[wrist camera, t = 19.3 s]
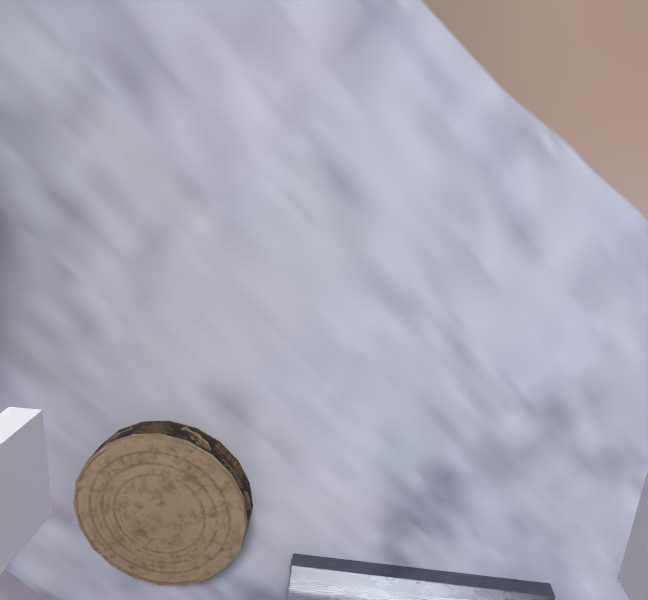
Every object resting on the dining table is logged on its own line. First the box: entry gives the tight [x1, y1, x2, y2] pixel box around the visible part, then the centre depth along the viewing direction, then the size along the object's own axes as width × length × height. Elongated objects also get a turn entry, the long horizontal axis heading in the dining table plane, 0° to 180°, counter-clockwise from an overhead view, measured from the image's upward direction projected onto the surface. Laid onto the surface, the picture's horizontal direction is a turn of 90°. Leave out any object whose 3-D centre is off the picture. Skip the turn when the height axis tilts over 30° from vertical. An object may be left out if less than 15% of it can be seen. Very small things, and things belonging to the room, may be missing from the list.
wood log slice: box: [74, 421, 253, 585], centre depth 50 cm, size 16×16×3 cm
